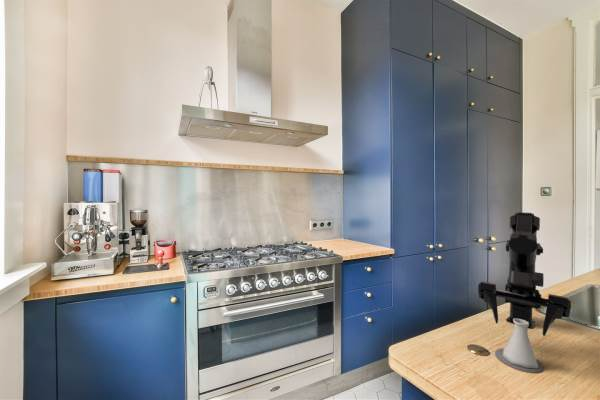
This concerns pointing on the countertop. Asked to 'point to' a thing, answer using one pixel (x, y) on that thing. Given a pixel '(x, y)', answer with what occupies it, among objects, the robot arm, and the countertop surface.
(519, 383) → the countertop surface
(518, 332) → the flask
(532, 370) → the rubber mat
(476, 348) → the bronze token
